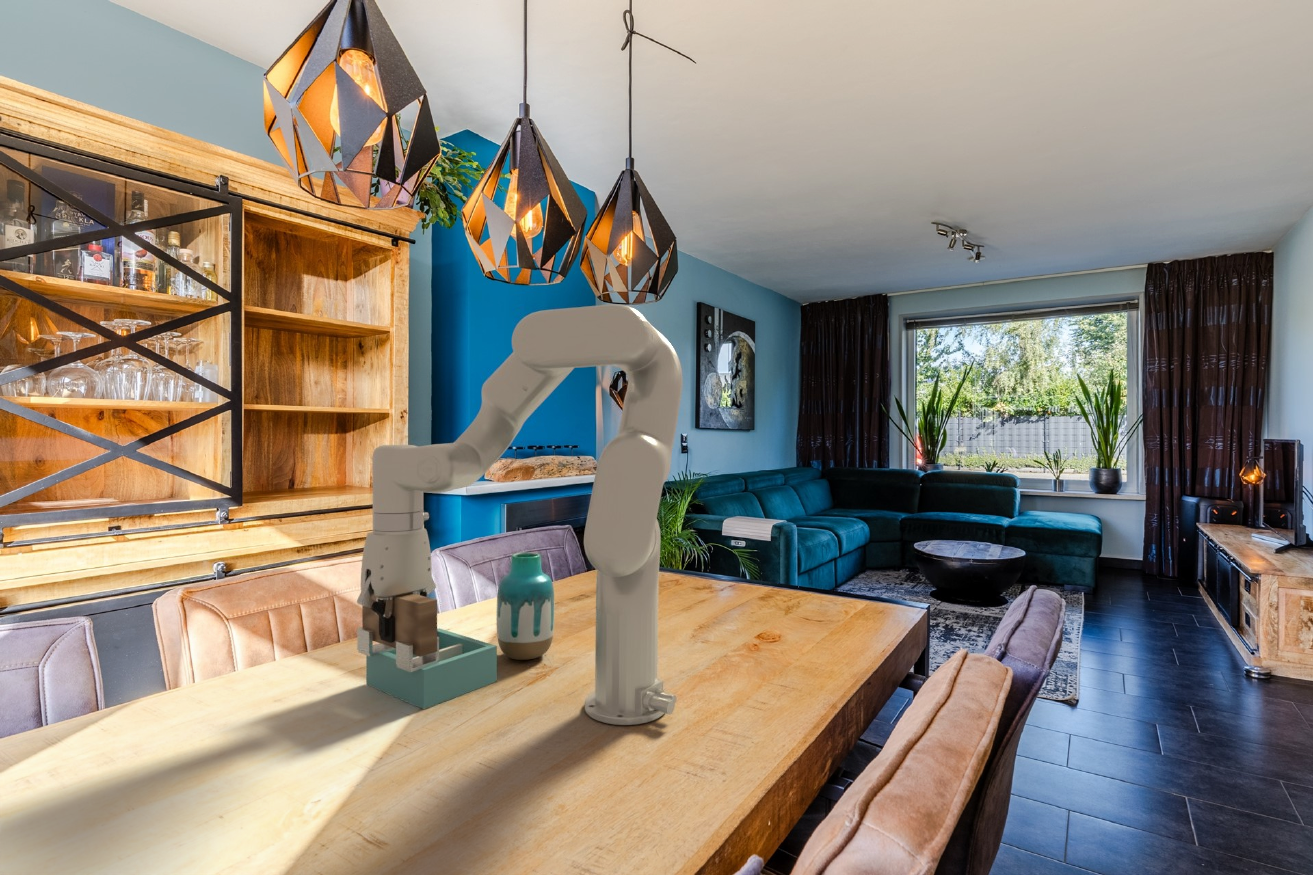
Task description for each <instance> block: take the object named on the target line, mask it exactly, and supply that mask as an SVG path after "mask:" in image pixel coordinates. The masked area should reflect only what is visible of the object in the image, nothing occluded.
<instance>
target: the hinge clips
mask: <svg viewBox="0 0 1313 875" xmlns="http://www.w3.org/2000/svg"><path fill="white" fill-rule="evenodd" d="M356 632H357V633H356V634H357V635H356V636H357V638H356V641H357V643H356V645H357V646H356V649H357V652H358V653H360V654H363V655H364V656H366V655H367V656H370V657H371V656H375V655H378V654H382V653H385V652H388V651H392V650H395V648H393V647H390V646H387V645H384V644H381V643H377V644H374V643H373V642H374V641H373V631H371V630H368V629H365V628H362V626H359V627H357V628H356ZM438 660H439V637H437V652H434V653H431V654H428V655H424V656H421V657H418V658H415V659H413V645H411V644H408V643H405V642H403V641H400V640H399V641H396V665H397V667H398V668H400V669H403V670H406V671H408V672H413V671H416V670H419V669H422V668H425V667H428V666H431V665H434V664H437V663H438Z"/></svg>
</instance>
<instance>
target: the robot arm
mask: <svg viewBox="0 0 1313 875" xmlns="http://www.w3.org/2000/svg"><path fill="white" fill-rule="evenodd" d="M511 348H512V350H513V351H512V353H511V354H510V355H509V356H508V357H507V358H506V359H505V360H504V362H502V364H500V366H499V367H498V368H497V369H496V370H495V371H494V372H493V373H492V374H491V375H490V376H489V377H488V378H487V379H486V380H485V381H484V383H483V384H482V387H481V405H480V409H479V412H478V413H477V415H476V416H475V418H474V419H473V421H472V422H471V423H470V425H469V426H468V427H467V428H466V429H465V431H464V432H462V433H461V435H460V436H458V438H457V439H456V440H455V441H454V442H450V443H449V442H448V443H435V444H428V445H422V446H417V445H414V444H384V445H379V446H376V448H375V449H374V450H373V453H372V532H368V533H367V534H366V537H365V542H364V547H363V552H362V557H361V558H362V560H361V570H360V593H359V595H358V598H357V600H356V604H357V605H360V606H362V605H363V606H366V607H369V608H370V609H371V610H373V611H374V612H375V613H376V615H379V635H380V638H381V640H384V641H386V642H389V643H392V642H394V641H395V617H393V616H392V607H393V597H394V596H399V595H404V594H408V593H412V594H417V595H421V596H425V597H428V596H429V595H430V594H431V593H433V591H434V590H436V589H437V584H436V583H435V581H434V579H433V576H432V574H433V570H432V569H433V567H432V552H431V547H430V539H429V535H428V531H427V529H426V528H424V525H425V524H424V523H425V521H428V520H429V518H430V514H429V512H428V511H427V512H426V511H425V510H424V493H432V494H439V493H441V494H442V493H446V492H451V491H454V490H459V489H463V488H466V487H469V486H471V485H473V484H474V483H476V482H477V481H479V479H480V478H482V477H483V476H484V475H485V474H486V473H487V472H488V470H490V469H491V468H492V466H494V464H495V463H496V462H497V461H498V460H499V459H500V458H501V457H502V456H503V454H505V452H506V451H507V449H509V447H510V446H511V444H512V443H513V441H514V440H515V438H516V436H517V435H518V433H520V431H521V429H522V427H523V425H524V424H525V422H526V421H527V420H528V418H529V417H530V416H531V415H532V414H533V413H534V412H535V410H537V409H538V407H540V406H541V405H542V403H543V402H545V400H547V398H548V397H549V396H550V395H551V394H552V393H553V391H554V390H555V389H557V387H558V386H559V385H560V384H561V383H562V382H563V381H564V380H565V379H566V378H567V377H568V376H569V374H570V373H572V371H573V370H574V369H575V368H589V367H600V366H601V367H605V366H613V367H615V368H617V369H620V370H621V371H623V372H624V373H625V374H626V377H627V388H626V392H625V396H624V399H623V405H622V413H621V417H620V418H621V419H620V423H619V427H618V432H617V434H616V436H615V437H613V438H612V439H611V440H609V442H607V444H606V445H605V447H604V448H603V450H602V451H601V453H600V456H599V459H598V462H597V464H596V465H597V466H596V468H595V469H596V470H595V473H594V480H593V485H592V490H591V495H590V501H589V506H588V512H587V517H586V521H585V522H586V523H585V528H584V535H583V546H584V552H585V556H586V558H587V559H588V561H589V563H590V564H591V566H592V567H593V568H594V569H595V570H597V571H596V584H595V585H596V587H595V589H596V590H595V638H594V639H595V650H594V651H595V652H594V655H595V656H594V658H595V659H594V661H595V662H594V663H595V664H594V665H595V667H594V668H595V669H594V670H595V671H594V676H595V677H594V691H592V692H591V693H590V694H588V695H587V697H586V698H585V700H584V710H585V713H586V714H587V715H588V716H589V717H590V718H592V719H594V720H596V721H598V722H600V723H601V722H602V723H605V724H609V725H614V726H615V725H616V726H617V725H618V726H632V725H633V726H634V725H641V724H646V723H650V722H653V721H655V720H657V719H659V718H660V717H662V716H664V715H665V714H666V715H672V714H673V712H674V711H675V707H676V706H675V704H676V702H677V701H678V700H677V699H678V697H677V695H676V694H674V693H673V694H672V693H670V692H665V690H664V680H663V679H660V678H658V667H659V666H658V660H659V659H658V658H659V657H658V655H659V654H658V650H659V649H658V648H659V646H658V644H659V643H658V642H659V641H658V640H659V639H658V637H659V635H658V634H659V632H658V631H659V629H658V628H659V583H660V582H659V578H660V560H661V559H660V558H661V544H662V541H661V539H662V538H661V528H660V523H659V520H658V519H657V517H658V513H659V507H660V503H661V498H662V494H663V493H662V491H663V488H664V487H663V486H664V484H665V483H666V481H667V480H668V478H669V475H670V472H671V467H672V455H673V454H672V453H673V449H674V441H675V437H676V430H677V425H678V419H679V412H680V405H681V399H682V392H683V383H684V382H683V370H682V364H681V361H680V359H679V358H680V357H679V356H678V354H677V352H676V350H675V348H674V347H673V346H672V344H671V343H670V342H669V340H668V339H667V338H666V337H665V336H664V335H663V333H661V332H660V331H658V330H657V329H656V328H655V327H654V326H653V325H652V324H651V323H650V321H648V320H647V318H646V317H645V316H644V315H643V314H642V313H641V312H640V311H639V310H637V309H636V308H634V307H631V306H628V305H625V304H613V303H612V304H601V305H591V306H588V305H587V306H581V307H567V308H555V309H545V310H539V311H535V312H531V313H530V314H528V315H526V316H524V317H523V318H522V319H521V320H519V322H518V323H517V324H516V326H515V328H514V329H513V332H512V336H511ZM373 594H374V595H375V597H376V601H374V600H372V599H371V596H372V595H373Z"/></svg>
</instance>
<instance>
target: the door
mask: <svg viewBox="0 0 1313 875" xmlns="http://www.w3.org/2000/svg"><path fill="white" fill-rule="evenodd" d="M371 599H372V600H374V601H376V597H375V595H374V594H373V595H372V596H371ZM361 607H362V608H361V610H362V617H361V618H362V620H361V621H362V626H361V627H362V628H365V629H368V630H371V631H373V642H376V643H377V644H379V643H381V644H384V645H387V646H390V647H393V648H395V649H396V641H399V640H400V641H403V642H405V643H408V644H411V645H413V655H416V656H419V657H421V656H424V655H428V654H431V653H434V652H437V629H438V599H436V598H432V597H428V596H426V597H425V596H421V595H417V594H412V593H408V594H404V595H399V596H394V597H393V607H392V616H393V617H395V641H394V642H392V643H389V642H386V641H384V640H381V638H380V635H379V615H376V613H375V612H374V611H373V610H371V609H370V608H369V607H366V606H363V605H361Z"/></svg>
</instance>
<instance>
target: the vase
mask: <svg viewBox="0 0 1313 875" xmlns="http://www.w3.org/2000/svg"><path fill="white" fill-rule="evenodd" d="M541 556H542V555H541V553H538V552H518V553H514V554H512V555H511V558H510V568H509V569H510V570H509V572H508V574H506V575H505V576H504V577H502V578H501V580H500V581H499V583H498V588H497V594H496V595H497V596H496V634H497V635H496V636H497V644H498V646H499V649H500V650H501V652H502V653H503V654H504V655H505V656H506V657H508V658H510V659H514V660H518V661H519V660H520V661H526V660H527V661H528V660H534V659H537V658H540V657H542V656H543V655H544V654H546V653H547V652H548V650H549V649H550V648H551V645H552V642H553V639H554V638H553V637H554V630H555V614H556V612H555V610H556V609H555V606H556V604H555V592H554V583H553V580H552V578H551V577H550V576H549V575H548V574H546V573H544V571H543V570H542V568H543V567H542V557H541Z"/></svg>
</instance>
